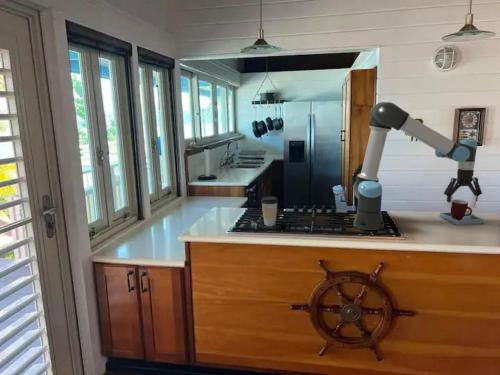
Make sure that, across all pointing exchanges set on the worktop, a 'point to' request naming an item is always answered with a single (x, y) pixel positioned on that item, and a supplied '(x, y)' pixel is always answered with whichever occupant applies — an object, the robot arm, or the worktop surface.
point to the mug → (459, 209)
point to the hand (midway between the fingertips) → (461, 207)
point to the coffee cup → (269, 210)
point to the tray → (464, 221)
